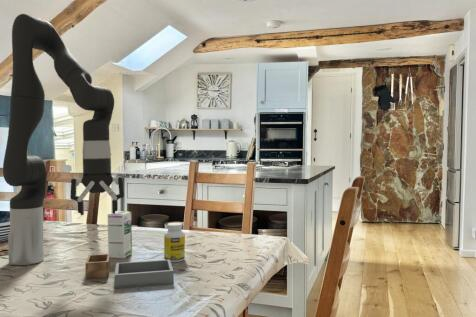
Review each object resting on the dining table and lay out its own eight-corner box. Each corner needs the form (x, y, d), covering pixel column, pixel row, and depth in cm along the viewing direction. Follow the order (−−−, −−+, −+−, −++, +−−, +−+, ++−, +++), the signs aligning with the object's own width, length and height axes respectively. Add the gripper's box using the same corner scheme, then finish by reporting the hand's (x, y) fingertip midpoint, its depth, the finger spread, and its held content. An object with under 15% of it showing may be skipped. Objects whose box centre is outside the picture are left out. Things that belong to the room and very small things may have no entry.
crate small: (85, 279, 114) (85, 263, 113) (88, 270, 122) (88, 254, 122) (108, 277, 115) (108, 261, 115) (110, 268, 123) (109, 253, 123)
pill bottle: (165, 263, 129) (165, 226, 128) (163, 257, 135) (163, 222, 134) (186, 262, 130) (186, 225, 130) (183, 256, 137) (183, 221, 136)
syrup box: (124, 258, 134) (124, 214, 133) (107, 257, 135) (107, 213, 134) (132, 254, 139) (132, 211, 139) (116, 253, 141) (115, 210, 140)
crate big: (114, 288, 107) (114, 275, 106) (116, 275, 117) (116, 262, 117) (173, 283, 110) (173, 270, 110) (169, 271, 121) (169, 259, 121)
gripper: (67, 157, 112) (69, 217, 112) (122, 156, 115) (124, 214, 116) (71, 157, 119) (73, 213, 120) (123, 156, 123) (124, 210, 123)
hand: (98, 213), depth 118 cm, fingers open, 8 cm apart
